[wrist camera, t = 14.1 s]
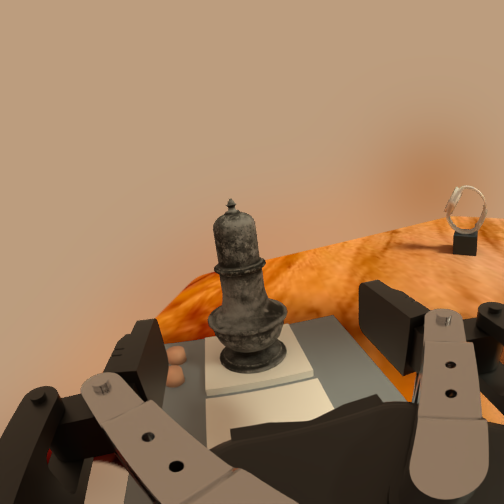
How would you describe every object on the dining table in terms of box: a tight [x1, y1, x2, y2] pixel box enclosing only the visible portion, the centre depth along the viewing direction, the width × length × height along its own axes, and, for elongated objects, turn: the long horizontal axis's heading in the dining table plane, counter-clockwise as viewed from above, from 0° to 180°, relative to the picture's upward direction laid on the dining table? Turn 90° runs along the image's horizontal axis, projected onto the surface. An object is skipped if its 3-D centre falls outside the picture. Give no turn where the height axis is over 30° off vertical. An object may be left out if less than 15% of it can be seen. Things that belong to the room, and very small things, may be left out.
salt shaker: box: [208, 199, 287, 374], centre depth 22 cm, size 6×6×12 cm
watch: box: [445, 186, 487, 256], centre depth 43 cm, size 6×8×11 cm
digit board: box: [124, 315, 407, 504], centre depth 20 cm, size 17×18×2 cm
